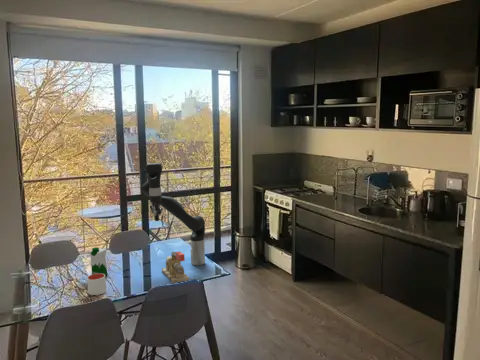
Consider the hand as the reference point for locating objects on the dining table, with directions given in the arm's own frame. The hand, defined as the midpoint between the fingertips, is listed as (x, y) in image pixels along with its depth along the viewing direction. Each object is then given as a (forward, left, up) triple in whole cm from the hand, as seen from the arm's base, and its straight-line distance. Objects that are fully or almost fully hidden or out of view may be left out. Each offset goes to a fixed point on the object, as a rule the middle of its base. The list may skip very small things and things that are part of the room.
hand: (156, 220), depth 266 cm
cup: (+2, -43, -35) cm, 56 cm away
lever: (+18, +3, -21) cm, 28 cm away
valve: (+12, +4, -35) cm, 37 cm away
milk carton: (-21, -32, -35) cm, 52 cm away
